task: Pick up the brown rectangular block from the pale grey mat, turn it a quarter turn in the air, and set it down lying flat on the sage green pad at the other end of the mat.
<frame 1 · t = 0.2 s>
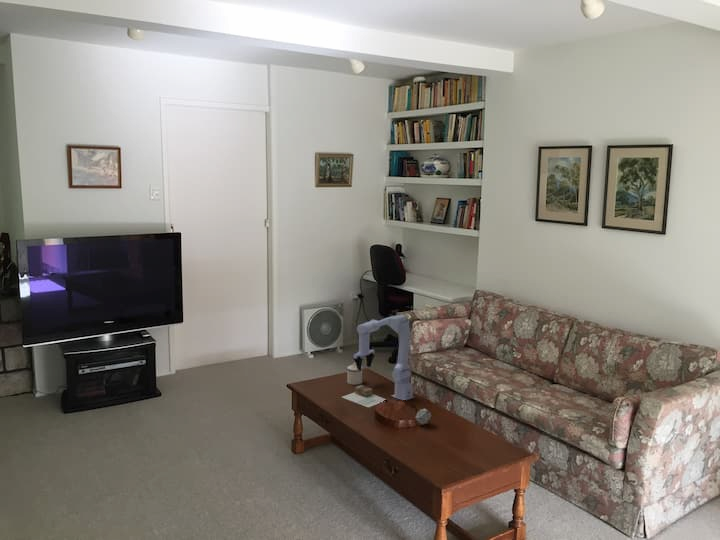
hand: (364, 368, 348), 10 cm above the table, tool pointing down, fingers open, 7 cm apart
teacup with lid: (353, 382, 354), on the table
brown rectangular block: (363, 394, 334), point 1 cm above the table, touching grey mat
grey mat: (364, 399, 328), on the table
grey rock: (423, 424, 297), on the table
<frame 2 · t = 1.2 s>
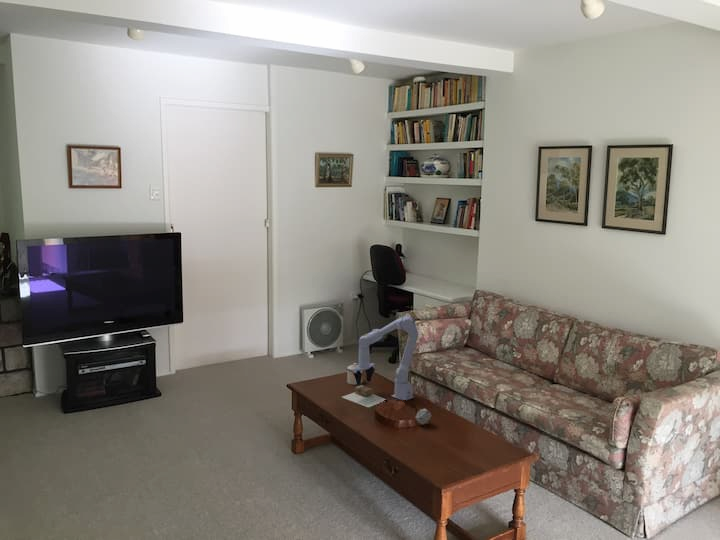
hand: (363, 382, 333), 7 cm above the table, tool pointing down, fingers open, 7 cm apart
nothing on the table moved.
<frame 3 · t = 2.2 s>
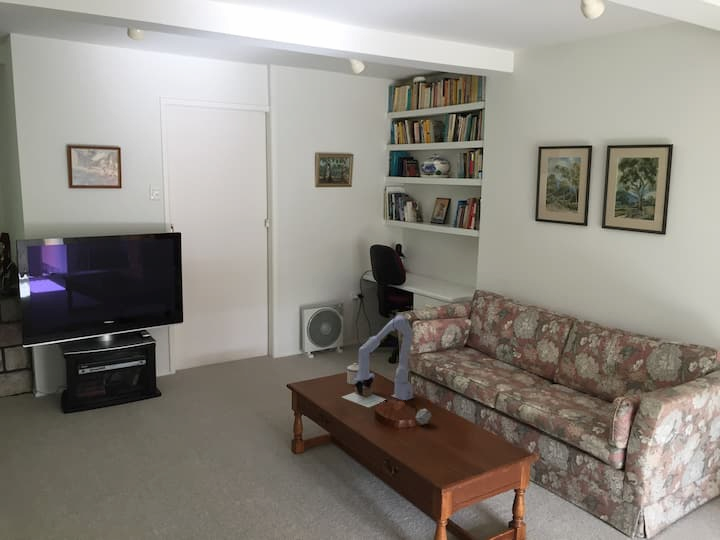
hand: (363, 392, 334), 1 cm above the table, tool pointing down, fingers closed on brown rectangular block, 5 cm apart
brown rectangular block: (363, 394, 334), point 1 cm above the table, touching grey mat, gripper
everything else where it was.
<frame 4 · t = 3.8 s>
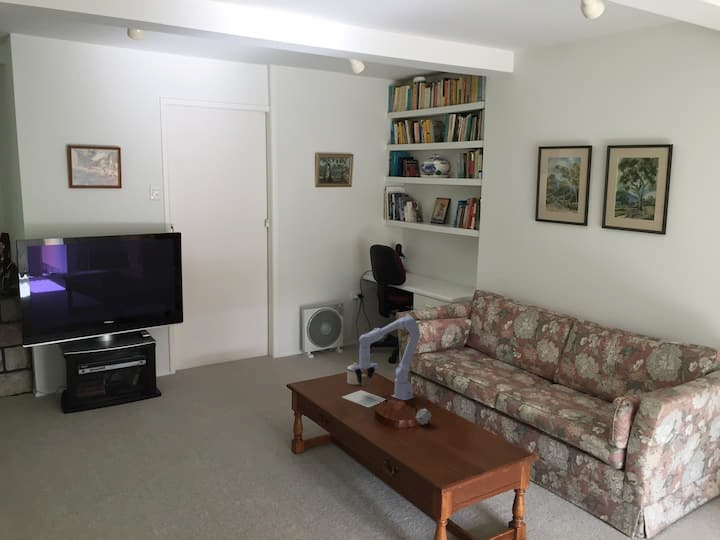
hand: (364, 381, 330), 8 cm above the table, tool pointing down, fingers closed on brown rectangular block, 5 cm apart
brown rectangular block: (364, 383, 331), point 7 cm above the table, touching gripper
everything else where it was.
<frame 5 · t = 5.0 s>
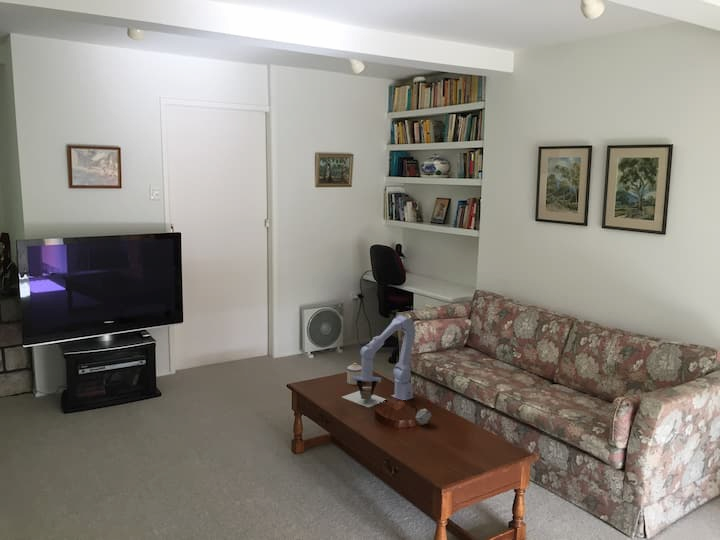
hand: (366, 394, 323), 4 cm above the table, tool pointing down, fingers closed on brown rectangular block, 5 cm apart
brown rectangular block: (366, 396, 324), point 3 cm above the table, touching gripper
everything else where it was.
when the fingers open (3 cm above the table, at t = 5.8 s): brown rectangular block drops 1 cm, resting on grey mat.
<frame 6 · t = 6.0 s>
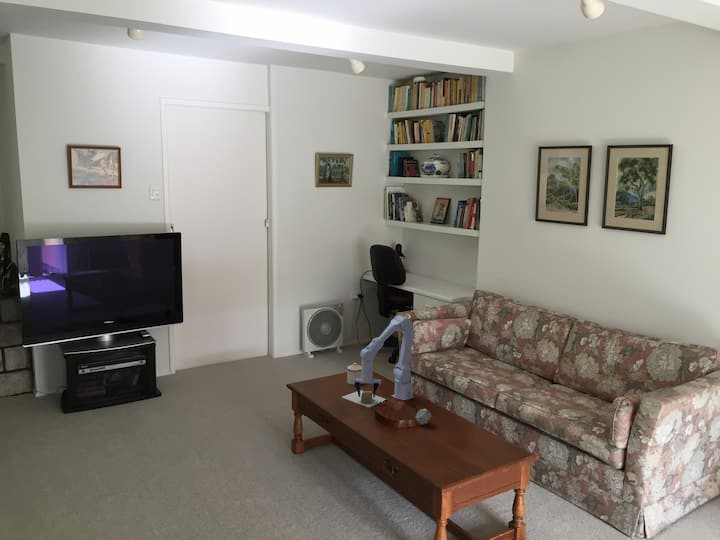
hand: (366, 396, 324), 3 cm above the table, tool pointing down, fingers open, 7 cm apart
brown rectangular block: (366, 400, 324), point 1 cm above the table, touching grey mat
everything else where it was.
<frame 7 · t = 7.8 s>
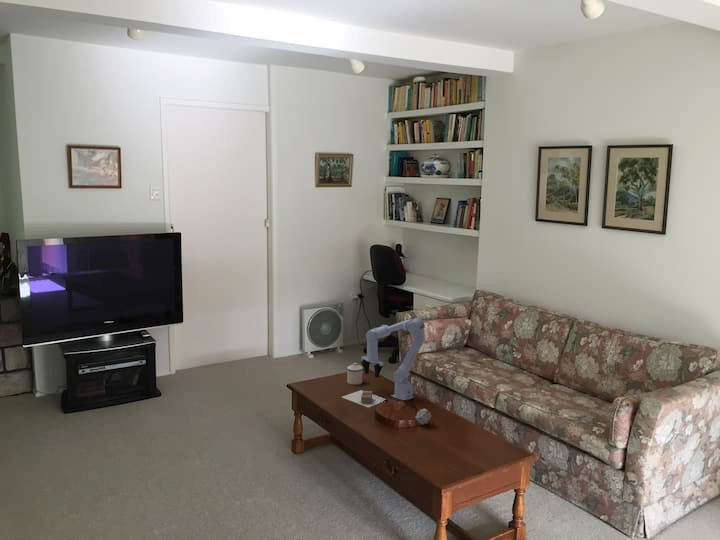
hand: (371, 375, 337), 9 cm above the table, tool pointing down, fingers open, 7 cm apart
nothing on the table moved.
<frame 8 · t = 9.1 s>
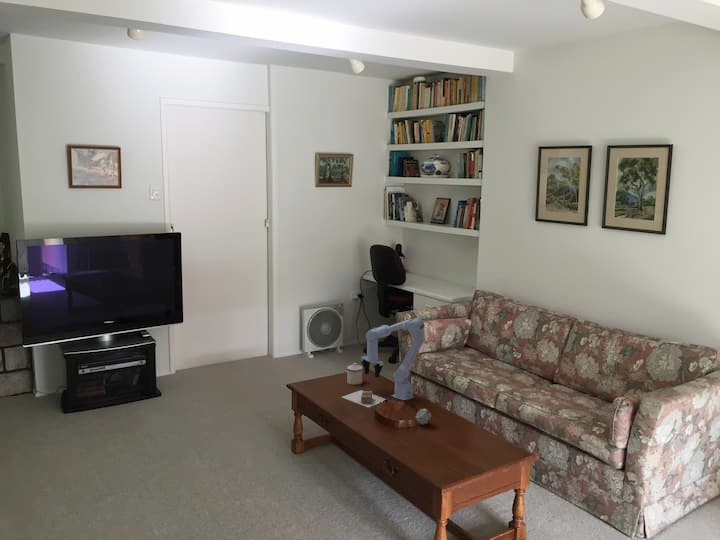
hand: (372, 375, 338), 9 cm above the table, tool pointing down, fingers open, 7 cm apart
nothing on the table moved.
at the end: brown rectangular block 0.2 cm from the target spot, point 0.8 cm above the table; brown rectangular block tilted 0°; the gripper is holding nothing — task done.
